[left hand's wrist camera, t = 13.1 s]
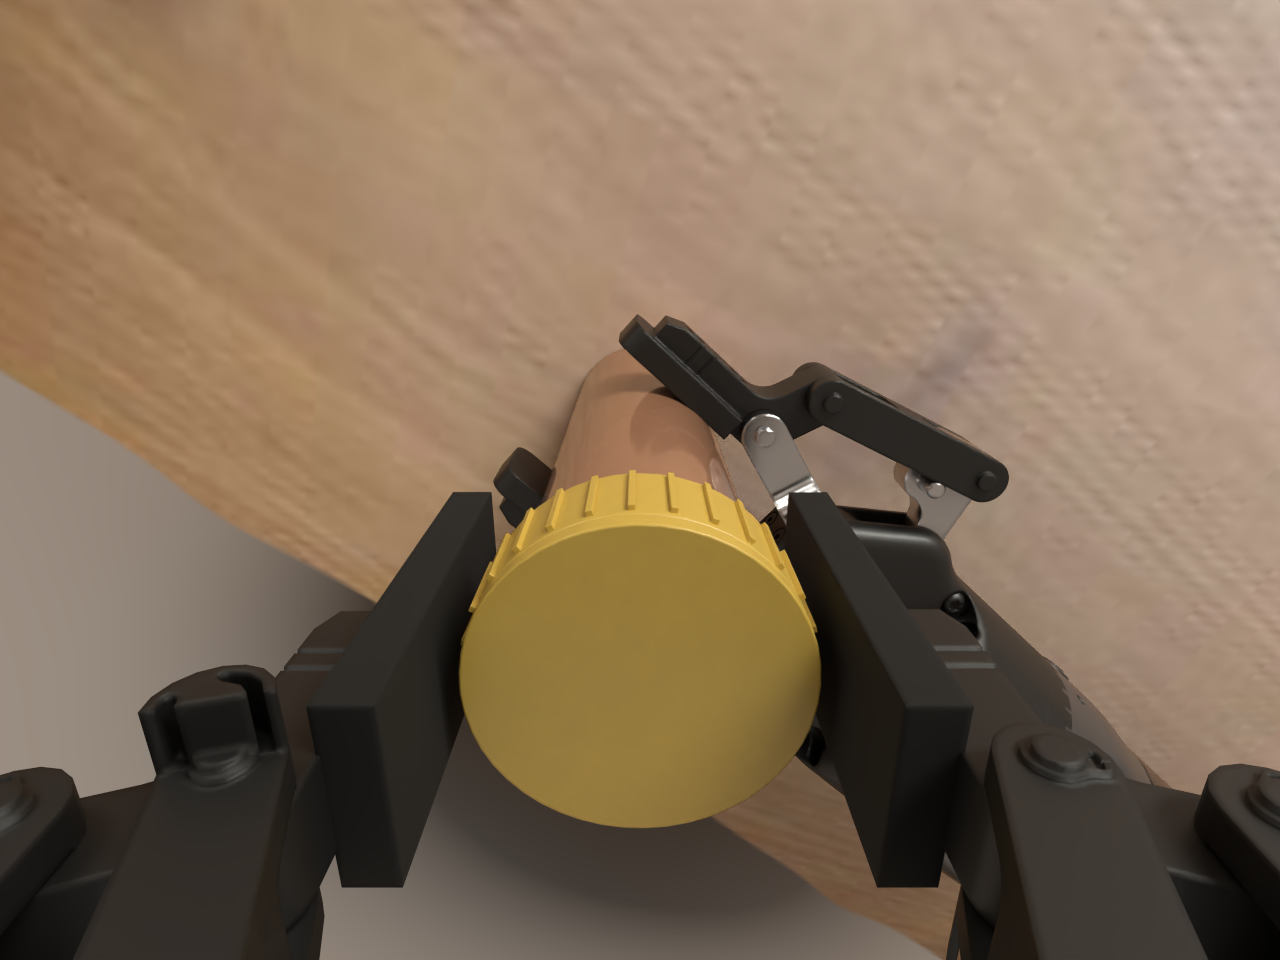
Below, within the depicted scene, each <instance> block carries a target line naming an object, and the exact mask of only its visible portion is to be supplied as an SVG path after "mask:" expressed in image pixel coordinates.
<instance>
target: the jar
mask: <svg viewBox="0 0 1280 960" xmlns="http://www.w3.org/2000/svg"><path fill="white" fill-rule="evenodd" d="M629 470H636V473H645V474H661V475H667V473H668V472H670V473H674V475H675V477H679V478H683V479H686V480H689V481H693V482H696V483H699V484H702V485H703V484H704V482H706V483H709V484H711V488H712V489H713V490H715V491H718V492H720V493H721V494H723V495H725V496H726V497H728V498H730V499H731V500H733V501H736V500H737V499H738V497H737V495H736V492H735V489H734V486H733V483H732V480H731V478H730V475H729V472H728V469H727V466H726V463H725V460H724V458H723V455H722V452H721V449H720V446H719V443H718V441H717V438H716V435H715V432H714V430H713V429H712V428H711V427H710V426H708V425H707V424H706V423H705V422H704V421H703V420H702V419H701V418H700V417H699V416H698V415H697V414H696V413H695V412H693V411H692V410H691V409H690V408H689V407H688V406H686V405H685V404H684V403H683V402H682V401H681V400H680V399H679V398H678V397H676V396H675V395H674V394H673V393H672V392H671V391H670V390H669V389H668V388H667V387H665V386H664V385H663V384H662V383H661V382H660V381H659V380H658V379H657V378H656V377H654V376H653V375H652V374H651V373H650V372H649V371H648V370H647V369H646V368H644V367H643V366H642V365H641V364H640V363H639V362H638V361H637V360H636V359H635V358H633V357H632V356H631V355H630V354H629V353H628V352H627V351H626V350H625V349H622V350H619V351H616V352H614V353H612V354H610V355H608V356H606V357H605V358H604V359H602V360H601V361H600V362H598V363H597V364H596V365H595V366H594V367H593V369H592V370H591V371H590V373H589V374H588V375H587V377H586V379H585V381H584V383H583V385H582V388H581V390H580V393H579V396H578V399H577V402H576V405H575V407H574V410H573V413H572V416H571V419H570V422H569V424H568V427H567V430H566V433H565V436H564V439H563V441H562V444H561V447H560V450H559V453H558V456H557V458H556V461H555V464H554V467H553V470H552V473H551V475H550V478H549V481H548V484H547V487H546V490H545V492H544V495H543V498H542V501H541V504H540V505H542V504H543V503H545V502H546V501H547V500H549V499H550V498H552V497H553V496H555V494H556V491H557V490H558V489H560V488H563V490H564V491H565V490H567V489H569V488H571V487H573V486H576V485H579V484H582V483H584V482H587V481H590V480H591V477H592V476H596V475H598V478H602V477H607V476H612V475H620V474H629Z"/></svg>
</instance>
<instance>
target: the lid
mask: <svg viewBox="0 0 1280 960" xmlns="http://www.w3.org/2000/svg"><path fill="white" fill-rule="evenodd" d="M805 599H806V597H805V594H804V592H803V590H802V587H801V585H800V583H799V581H798V578H797V576H796V574H795V572H794V569H793V567H792V565H791V562H790V560H789V558H788V556H787V553H786V552H785V550H782V551H779V549H778V547H777V545H776V543H775V541H774V539H773V536H772V534H771V531H770V529H769V527H768V525H767V524H766V523H765V522H764V523H763V524H760V523H759V522H758V521H757V520H756V519H755V518H754V517H753V516H752V515H751V514H750V513H749V512H747V511H746V510H745V508H744V505H743V503H742V502H741V501H740V500H738V499H737V500H736V501H733V500H731V499H730V498H728V497H726V496H725V495H723V494H721V493H720V492H718V491H715V490H713V489H712V488H711V484H709V483H706V482H704V484H703V485H702V484H699V483H696V482H693V481H689V480H686V479H683V478H679V477H675V475H674V473H670V472H668V473H667V475H661V474H645V473H636V470H629V474H620V475H612V476H607V477H602V478H598V475H596V476H592V477H591V480H590V481H587V482H584V483H582V484H579V485H576V486H573V487H571V488H569V489H567V490H565V491H564V490H563V488H560V489H558V490H557V491H556V494H555V496H553V497H552V498H550V499H549V500H547V501H546V502H545V503H543V504H542V505H540V506H539V507H537V508H536V509H535V510H533V509H532V508H530V509H529V510H527V512H526V514H525V517H524V520H523V521H522V522H521V523H520V524H519V525H518V527H517V528H516V529H515V530H514V531H513V533H512V534H511V535H510V534H509V533H506V534H505V536H504V537H503V539H502V542H501V544H500V546H499V549H498V551H497V553H496V556H495V558H494V560H493V562H491V561H490V563H489V565H488V567H487V569H486V572H485V574H484V576H483V578H482V581H481V583H480V585H479V588H478V590H477V592H476V594H475V597H474V599H473V601H472V603H471V606H470V608H469V612H471V613H473V614H472V616H471V618H470V621H469V623H468V625H467V628H466V630H465V632H464V635H463V637H462V639H461V646H462V648H461V652H460V661H459V671H458V674H459V691H460V697H461V701H462V706H463V710H464V714H465V717H466V719H467V722H468V724H469V727H470V730H471V732H472V734H473V736H474V738H475V739H476V741H477V743H478V745H479V746H480V748H481V750H482V751H483V752H484V754H485V755H486V756H487V758H488V759H489V760H490V762H491V763H492V764H493V766H494V767H495V768H496V769H497V770H498V771H499V772H500V773H501V774H502V775H503V776H504V777H505V778H506V779H507V780H508V781H510V782H511V783H512V784H513V785H515V786H516V787H517V788H518V789H520V790H521V791H522V792H523V793H525V794H526V795H528V796H530V797H531V798H533V799H535V800H536V801H538V802H539V803H541V804H543V805H545V806H547V807H549V808H551V809H553V810H556V811H558V812H560V813H562V814H566V815H568V816H571V817H574V818H577V819H580V820H584V821H588V822H592V823H596V824H600V825H607V826H615V827H622V828H655V827H667V826H673V825H679V824H684V823H689V822H693V821H696V820H700V819H703V818H707V817H710V816H712V815H715V814H717V813H720V812H722V811H725V810H727V809H729V808H731V807H733V806H735V805H737V804H739V803H741V802H742V801H744V800H746V799H748V798H749V797H751V796H752V795H754V794H755V793H756V792H758V791H759V790H761V789H762V788H764V787H765V786H766V785H767V784H768V783H769V782H770V781H772V780H773V779H774V778H775V777H776V776H777V775H778V774H779V773H780V772H781V771H782V770H783V769H784V768H785V767H786V765H787V764H788V763H789V762H790V761H791V760H792V759H793V757H794V756H795V754H796V753H797V751H798V750H799V748H800V747H801V745H802V744H803V742H804V740H805V738H806V736H807V734H808V732H809V730H810V728H811V726H812V723H813V720H814V717H815V713H816V710H817V707H818V703H819V697H820V690H821V659H820V653H819V647H818V643H817V640H816V637H815V633H816V632H817V627H816V625H815V622H814V620H813V618H812V615H811V613H810V611H809V608H808V606H807V604H806V601H805Z"/></svg>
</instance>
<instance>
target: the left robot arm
mask: <svg viewBox="0 0 1280 960" xmlns="http://www.w3.org/2000/svg"><path fill="white" fill-rule="evenodd" d="M784 550H785V552H786V553H787V556H788V558H789V560H790V562H791V565H792V567H793V569H794V572H795V574H796V576H797V578H798V581H799V583H800V585H801V587H802V590H803V592H804V594H805V597H806V599H805V601H806V604H807V606H808V608H809V611H810V613H811V615H812V618H813V620H814V622H815V625H816V627H817V632H816V633H815V637H816V640H817V643H818V647H819V653H820V659H821V690H820V697H819V703H818V707H817V710H816V713H815V714H816V717H817V720H818V722H819V725H820V728H821V731H822V734H823V736H824V739H825V742H826V745H827V748H828V750H829V753H830V756H831V759H832V762H833V765H834V767H835V770H836V773H837V776H838V779H839V781H840V784H841V787H842V790H843V793H844V795H845V798H846V801H847V804H848V807H849V809H850V812H851V815H852V818H853V821H854V824H855V826H856V829H857V832H858V835H859V838H860V840H861V843H862V846H863V849H864V852H865V854H866V857H867V860H868V863H869V866H870V868H871V871H872V874H873V877H874V880H875V883H876V885H877V887H938V885H939V880H940V875H941V870H942V865H943V860H944V855H945V852H946V854H947V856H948V858H949V860H950V862H951V864H952V867H953V869H954V871H955V873H956V875H957V877H958V879H959V881H960V883H961V887H960V892H959V896H958V901H957V906H956V910H955V915H954V920H953V924H952V929H951V934H950V938H949V943H948V950H947V957H946V960H957V957H958V952H959V948H960V956H961V960H1280V771H1276V770H1272V769H1269V768H1264V767H1258V766H1252V765H1245V764H1233V765H1224V766H1219V767H1218V768H1217V769H1215V770H1214V771H1213V772H1211V773H1210V774H1209V775H1208V778H1207V781H1206V783H1205V786H1204V789H1203V792H1202V795H1197V794H1193V793H1188V792H1184V791H1179V790H1174V789H1170V788H1165V787H1161V786H1156V785H1152V784H1147V783H1143V782H1139V781H1135V780H1131V779H1128V778H1125V776H1124V774H1123V772H1122V771H1121V770H1120V768H1119V767H1118V765H1117V764H1116V763H1115V761H1114V760H1113V759H1112V757H1110V756H1109V755H1108V754H1107V753H1105V752H1104V751H1103V750H1101V749H1100V748H1099V747H1098V746H1096V745H1095V744H1094V743H1092V742H1091V741H1089V740H1087V739H1085V738H1083V737H1081V736H1079V735H1076V734H1074V733H1072V732H1070V731H1068V730H1065V729H1062V728H1058V727H1054V726H1051V725H1047V724H1044V723H1043V722H1042V720H1041V719H1040V718H1039V717H1038V715H1037V714H1036V713H1035V712H1034V710H1033V709H1032V708H1031V707H1030V705H1029V704H1028V703H1027V702H1026V700H1025V699H1024V698H1023V697H1022V695H1021V694H1020V693H1019V692H1018V690H1017V689H1016V688H1015V687H1014V686H1013V684H1012V683H1011V682H1010V681H1009V679H1008V678H1007V677H1006V676H1005V674H1004V673H1003V672H1002V671H1001V669H997V667H996V663H995V662H994V661H993V659H992V658H991V657H990V656H989V654H988V653H987V652H986V651H983V647H982V646H981V644H980V643H979V642H978V641H977V639H976V638H975V637H974V636H973V635H972V633H971V632H970V631H969V630H968V628H967V627H966V626H964V625H963V624H961V623H960V622H958V621H957V620H955V619H954V618H952V617H951V616H949V615H947V614H946V613H944V612H943V611H941V610H940V609H907V608H906V607H905V605H904V604H903V602H902V601H901V599H900V598H899V596H898V595H897V594H896V592H895V591H894V589H893V588H892V586H891V585H890V583H889V582H888V580H887V579H886V578H885V576H884V575H883V573H882V572H881V570H880V569H879V567H878V566H877V564H876V563H875V562H874V560H873V559H872V557H871V556H870V554H869V553H868V551H867V550H866V548H865V547H864V546H863V544H862V543H861V541H860V540H859V538H858V537H857V535H856V534H855V533H854V531H853V530H852V528H851V527H850V525H849V524H848V522H847V521H846V519H845V518H844V517H843V515H842V514H841V512H840V511H839V509H838V508H837V506H836V505H835V503H834V502H833V501H832V499H831V498H830V496H829V495H828V493H827V492H789V494H788V507H787V519H786V532H785V545H784ZM495 556H496V545H495V532H494V520H493V507H492V494H491V492H453V493H452V495H451V496H450V498H449V499H448V501H447V502H446V503H445V505H444V506H443V508H442V509H441V511H440V512H439V514H438V515H437V517H436V518H435V519H434V521H433V522H432V524H431V525H430V527H429V528H428V530H427V531H426V532H425V534H424V535H423V537H422V538H421V540H420V541H419V543H418V544H417V546H416V547H415V548H414V550H413V551H412V553H411V554H410V556H409V557H408V559H407V560H406V562H405V563H404V564H403V566H402V567H401V569H400V570H399V572H398V573H397V575H396V576H395V578H394V579H393V580H392V582H391V583H390V585H389V586H388V588H387V589H386V591H385V592H384V594H383V595H382V596H381V598H380V599H379V601H378V602H377V604H376V605H375V607H374V608H373V610H372V611H341V612H339V613H338V614H336V615H335V616H333V617H332V618H330V619H329V620H327V621H326V622H324V623H323V624H321V625H320V626H318V627H316V628H315V629H314V630H313V631H312V632H311V634H310V635H309V636H308V637H307V639H306V640H305V641H304V642H303V644H302V645H301V646H300V647H299V649H298V653H297V654H294V655H293V656H292V658H291V659H290V660H289V661H288V663H287V664H286V665H285V666H284V671H280V673H279V674H278V675H277V676H276V678H275V677H274V676H273V675H271V674H270V673H269V672H268V671H267V670H265V669H264V668H260V667H255V666H250V665H232V666H221V667H217V668H213V669H209V670H205V671H201V672H197V673H195V674H192V675H190V676H188V677H185V678H183V679H181V680H178V681H176V682H174V683H172V684H170V685H169V686H167V687H166V688H164V689H163V690H161V691H160V692H158V693H157V694H155V695H154V696H152V697H151V698H150V699H149V700H148V701H147V703H146V704H145V705H144V706H143V707H142V709H141V710H140V711H139V712H138V715H139V718H140V722H141V725H142V728H143V732H144V735H145V738H146V742H147V745H148V748H149V751H150V755H151V758H152V762H153V765H154V768H155V772H156V777H155V779H154V781H153V782H149V783H146V784H142V785H138V786H134V787H129V788H125V789H120V790H115V791H111V792H106V793H102V794H97V795H93V796H88V797H84V798H79V795H78V792H77V789H76V786H75V784H74V781H73V778H72V777H71V776H69V775H68V774H67V773H66V772H64V771H63V770H62V769H55V768H46V767H37V768H31V769H24V770H18V771H13V772H10V773H6V774H3V775H0V960H319V957H320V949H321V940H322V932H323V924H324V910H323V902H322V897H321V892H320V885H321V883H322V881H323V878H324V876H325V874H326V872H327V870H328V868H329V866H330V864H331V862H332V860H333V858H334V856H335V855H336V860H337V865H338V870H339V875H340V880H341V885H342V887H403V885H404V882H405V880H406V877H407V874H408V871H409V868H410V866H411V863H412V860H413V857H414V854H415V851H416V849H417V846H418V843H419V840H420V838H421V835H422V832H423V829H424V826H425V823H426V821H427V818H428V815H429V812H430V809H431V806H432V804H433V801H434V798H435V795H436V792H437V790H438V787H439V784H440V781H441V779H442V776H443V773H444V770H445V767H446V764H447V762H448V759H449V756H450V753H451V750H452V748H453V745H454V742H455V739H456V736H457V734H458V731H459V728H460V725H461V722H462V720H463V717H464V710H463V706H462V701H461V697H460V691H459V674H458V671H459V661H460V652H461V648H462V646H461V639H462V637H463V635H464V632H465V630H466V628H467V625H468V623H469V621H470V618H471V616H472V614H473V613H471V612H469V608H470V606H471V603H472V601H473V599H474V597H475V594H476V592H477V590H478V588H479V585H480V583H481V581H482V578H483V576H484V574H485V572H486V569H487V567H488V565H489V563H490V561H491V562H493V560H494V558H495Z"/></svg>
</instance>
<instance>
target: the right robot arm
mask: <svg viewBox="0 0 1280 960" xmlns="http://www.w3.org/2000/svg"><path fill="white" fill-rule="evenodd" d="M619 342H620V344H621V345H622V346H623V348H624V349H625V350H626V351H627V352H628V353H629V354H630V355H631V356H632V357H633V358H635V359H636V360H637V361H638V362H639V363H640V364H641V365H642V366H643V367H644V368H646V369H647V370H648V371H649V372H650V373H651V374H652V375H653V376H654V377H656V378H657V379H658V380H659V381H660V382H661V383H662V384H663V385H664V386H665V387H667V388H668V389H669V390H670V391H671V392H672V393H673V394H674V395H675V396H676V397H678V398H679V399H680V400H681V401H682V402H683V403H684V404H685V405H686V406H688V407H689V408H690V409H691V410H692V411H693V412H695V413H696V414H697V415H698V416H699V417H700V418H701V419H702V420H703V421H704V422H705V423H706V424H707V425H708V426H710V427H711V428H712V429H713V430H714V431H715V432H716V433H717V434H718V435H719V436H721V437H722V438H723V439H725V438H726V437H727V436H728V435H729V434H732V435H733V436H734V437H735V438H736V439H737V440H738V441H739V442H740V443H741V444H743V446H744V448H745V450H746V452H747V454H748V456H749V458H750V459H751V461H752V463H753V465H754V467H755V469H756V470H757V472H758V474H759V476H760V478H761V479H762V481H763V483H764V485H765V487H766V489H767V490H768V492H769V494H770V496H771V498H772V500H773V502H774V504H775V505H776V507H775V508H774V509H773V510H772V511H771V512H770V513H769V514H768V515H767V516H766V517H765V518H764V519H763V520H761V521H760V522H759V523H760V524H763V523H764V522H765V523H766V524H767V525H768V527H769V529H770V531H771V534H772V536H773V539H774V541H775V543H776V545H777V547H778V549H779V551H782V550H784V545H785V532H786V519H787V507H788V494H789V492H821V491H820V489H819V488H818V486H817V484H816V483H815V481H814V479H813V477H812V475H811V473H810V471H809V470H808V468H807V466H806V464H805V462H804V460H803V458H802V456H801V454H800V452H799V450H798V448H797V446H796V445H795V443H794V441H793V440H794V439H796V438H798V437H800V436H802V435H804V434H806V433H808V432H810V431H812V430H814V429H816V428H818V427H820V426H823V425H824V426H826V427H828V428H830V429H832V430H834V431H836V432H838V433H840V434H842V435H844V436H846V437H848V438H850V439H852V440H854V441H856V442H858V443H860V444H862V445H864V446H866V447H868V448H870V449H872V450H874V451H876V452H878V453H880V454H882V455H884V456H886V457H888V458H890V459H892V460H894V461H896V464H895V467H894V478H895V481H896V482H897V483H898V484H899V486H900V487H901V488H902V489H903V490H904V491H905V492H906V493H907V494H908V495H909V497H910V506H909V509H908V511H907V513H905V512H896V511H886V510H877V509H867V508H857V507H848V506H838V505H836V506H837V508H838V509H839V511H840V512H841V514H842V515H843V517H844V518H845V519H846V521H847V522H848V524H849V525H850V527H851V528H852V530H853V531H854V533H855V534H856V535H857V537H858V538H859V540H860V541H861V543H862V544H863V546H864V547H865V548H866V550H867V551H868V553H869V554H870V556H871V557H872V559H873V560H874V562H875V563H876V564H877V566H878V567H879V569H880V570H881V572H882V573H883V575H884V576H885V578H886V579H887V580H888V582H889V583H890V585H891V586H892V588H893V589H894V591H895V592H896V594H897V595H898V596H899V598H900V599H901V601H902V602H903V604H904V605H905V607H906V608H907V609H940V610H941V611H943V612H944V613H946V614H947V615H949V616H951V617H952V618H954V619H955V620H957V621H958V622H960V623H961V624H963V625H964V626H966V627H967V628H968V630H969V631H970V632H971V633H972V635H973V636H974V637H975V638H976V639H977V641H978V642H979V643H980V644H981V646H982V647H983V651H986V652H987V653H988V654H989V656H990V657H991V658H992V659H993V661H994V662H995V663H996V667H997V669H1001V671H1002V672H1003V673H1004V674H1005V676H1006V677H1007V678H1008V679H1009V681H1010V682H1011V683H1012V684H1013V686H1014V687H1015V688H1016V689H1017V690H1018V692H1019V693H1020V694H1021V695H1022V697H1023V698H1024V699H1025V700H1026V702H1027V703H1028V704H1029V705H1030V707H1031V708H1032V709H1033V710H1034V712H1035V713H1036V714H1037V715H1038V717H1039V718H1040V719H1041V720H1042V722H1043V723H1044V724H1047V725H1051V726H1054V727H1058V728H1062V729H1065V730H1068V731H1070V732H1072V733H1074V734H1076V735H1079V736H1081V737H1083V738H1085V739H1087V740H1089V741H1091V742H1092V743H1094V744H1095V745H1096V746H1098V747H1099V748H1100V749H1101V750H1103V751H1104V752H1105V753H1107V754H1108V755H1109V756H1110V757H1112V759H1113V760H1114V761H1115V763H1116V764H1117V765H1118V767H1119V768H1120V770H1121V771H1122V772H1123V774H1124V776H1125V778H1128V779H1131V780H1135V781H1139V782H1143V783H1147V784H1152V785H1156V786H1161V787H1165V788H1170V789H1172V788H1171V787H1170V786H1169V785H1168V784H1167V783H1166V782H1164V781H1163V780H1162V779H1161V778H1160V777H1159V776H1158V775H1157V774H1156V773H1155V772H1154V771H1153V770H1152V769H1151V768H1150V767H1148V766H1147V765H1146V764H1145V763H1144V762H1143V761H1142V760H1141V759H1140V758H1139V757H1138V756H1137V755H1136V754H1135V753H1134V752H1132V751H1131V750H1130V749H1129V748H1128V747H1127V746H1126V745H1125V743H1124V742H1123V741H1122V739H1121V738H1120V737H1119V735H1118V734H1117V732H1116V731H1115V730H1114V728H1113V727H1112V726H1111V724H1110V723H1109V722H1108V721H1107V719H1106V718H1105V717H1104V716H1103V715H1102V714H1101V712H1100V711H1099V710H1098V709H1097V708H1096V707H1095V706H1094V705H1093V704H1092V703H1091V702H1090V701H1089V700H1088V699H1087V698H1086V697H1085V696H1084V695H1083V694H1082V693H1081V692H1080V691H1079V690H1078V689H1077V688H1076V687H1075V686H1074V685H1073V684H1071V683H1070V682H1069V679H1068V677H1067V676H1066V675H1065V674H1064V673H1063V671H1062V670H1061V669H1060V668H1059V667H1058V666H1057V665H1055V664H1054V663H1053V662H1051V661H1050V660H1048V659H1047V658H1045V657H1043V656H1042V655H1041V654H1040V653H1038V652H1037V651H1036V650H1035V649H1034V648H1033V647H1032V646H1031V645H1030V644H1029V643H1028V642H1027V641H1026V640H1025V639H1024V638H1023V637H1021V636H1020V635H1019V634H1018V633H1017V632H1016V631H1015V630H1014V629H1013V628H1012V627H1011V626H1010V625H1009V624H1008V623H1007V622H1006V621H1005V620H1004V619H1002V618H1001V617H1000V616H999V615H998V614H997V613H996V612H995V611H994V610H993V609H992V608H991V607H990V606H989V605H988V604H987V603H986V602H985V601H983V600H982V599H981V598H980V597H979V596H978V595H977V594H976V593H975V592H974V591H973V590H972V589H971V588H970V587H969V586H968V585H967V584H966V583H964V582H963V581H962V580H961V579H960V578H959V577H958V576H957V575H956V573H955V572H954V569H953V566H952V561H951V555H950V552H949V549H948V547H947V545H946V543H945V542H944V540H943V539H944V538H945V536H946V535H947V534H948V532H949V531H950V529H951V528H952V527H953V525H954V524H955V522H956V521H957V520H958V518H959V517H960V515H961V514H962V513H963V511H964V510H965V508H966V507H967V505H968V504H969V503H970V501H971V500H974V501H977V502H988V501H991V500H993V499H995V498H997V497H998V496H1000V495H1001V494H1002V493H1003V492H1004V490H1005V489H1006V487H1007V484H1008V480H1009V475H1008V471H1007V469H1006V467H1005V466H1004V465H1003V464H1002V463H1000V462H999V461H997V460H996V459H994V458H993V457H991V456H990V455H988V454H987V453H985V452H984V451H982V450H981V449H979V448H978V447H976V446H975V445H973V444H972V443H970V442H969V441H967V440H966V439H964V438H963V437H961V436H960V435H958V434H956V433H954V432H952V431H950V430H948V429H946V428H944V427H942V426H940V425H938V424H937V423H935V422H933V421H931V420H929V419H927V418H925V417H923V416H921V415H919V414H917V413H915V412H913V411H911V410H909V409H907V408H906V407H904V406H902V405H900V404H898V403H896V402H894V401H892V400H890V399H888V398H886V397H884V396H882V395H880V394H878V393H877V392H875V391H873V390H871V389H869V388H867V387H865V386H863V385H861V384H859V383H857V382H855V381H853V380H851V379H849V378H848V377H846V376H844V375H842V374H840V373H838V372H836V371H834V370H832V369H830V368H828V367H826V366H824V365H822V364H820V363H816V362H811V363H806V364H804V365H802V366H800V367H799V368H798V369H797V370H796V371H795V372H794V374H793V376H791V377H789V378H787V379H785V380H783V381H781V382H779V383H777V384H774V385H771V386H765V387H761V386H755V385H753V384H750V383H749V382H747V381H746V380H745V379H744V378H743V377H741V376H740V375H739V374H738V373H737V372H736V371H735V370H734V369H733V368H732V367H731V366H730V365H729V364H728V363H727V362H726V361H725V360H723V359H722V358H721V357H720V356H719V355H718V354H717V353H716V352H715V351H714V350H713V349H712V348H711V347H710V346H709V345H708V344H707V343H705V342H704V341H703V340H702V339H701V338H700V337H699V336H698V335H697V334H696V333H695V332H694V331H693V330H692V329H691V328H690V327H688V326H687V325H686V324H685V323H684V322H682V321H679V320H676V319H674V318H671V317H669V316H665V317H664V318H663V319H662V320H661V321H660V322H659V323H658V325H657V326H656V327H655V328H653V327H652V326H651V325H650V324H649V323H648V322H647V321H646V320H644V319H643V318H642V317H641V316H639V315H638V314H637V315H636V316H635V317H634V318H633V320H632V321H631V322H630V323H629V324H628V325H627V326H626V327H625V329H624V330H623V331H622V332H621V333H620V337H619ZM551 473H552V470H551V469H550V468H549V467H548V466H546V465H545V464H544V463H543V462H541V461H540V460H539V459H538V458H537V457H535V456H534V455H533V454H532V453H530V452H529V451H527V450H526V449H523V448H517V449H516V450H515V451H514V452H513V453H512V455H511V456H510V457H509V458H508V459H507V460H506V461H505V462H504V464H503V465H502V466H501V468H500V470H499V472H498V473H497V475H496V477H495V479H494V485H495V487H496V489H497V490H498V491H499V492H500V493H501V494H502V495H503V496H504V498H503V500H502V502H501V504H500V506H499V507H500V509H501V511H502V512H503V514H504V516H505V517H506V519H507V521H508V522H509V523H510V524H511V525H512V526H513V527H515V528H517V527H518V525H519V524H520V523H521V522H522V521H523V520H524V517H525V514H526V512H527V510H529V509H530V508H532V509H533V510H535V509H536V508H537V507H539V506H540V504H541V501H542V498H543V495H544V492H545V490H546V487H547V484H548V481H549V478H550V475H551ZM795 756H796V757H797V758H798V759H799V760H801V761H802V762H803V763H804V764H805V765H806V766H807V767H808V768H810V769H811V770H812V771H813V772H815V773H816V774H817V775H819V776H820V777H821V778H822V779H824V780H825V781H826V782H827V783H829V784H830V785H831V786H833V787H834V788H835V789H836V790H838V791H839V792H840V793H842V794H843V795H844V793H843V790H842V787H841V784H840V781H839V779H838V776H837V773H836V770H835V767H834V765H833V762H832V759H831V756H830V753H829V750H828V748H827V745H826V742H825V739H824V736H823V734H822V731H821V728H820V725H819V722H818V720H817V717H816V714H815V717H814V720H813V723H812V726H811V728H810V730H809V732H808V734H807V736H806V738H805V740H804V742H803V744H802V745H801V747H800V748H799V750H798V751H797V753H796V754H795ZM844 796H845V795H844ZM941 872H943V873H944V874H946V875H947V876H949V877H950V878H952V879H953V880H955V881H956V882H958V883H959V884H961V883H960V881H959V879H958V877H957V875H956V873H955V871H954V869H953V867H952V864H951V862H950V860H949V858H948V856H947V854H946V852H945V855H944V860H943V865H942V870H941Z"/></svg>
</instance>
